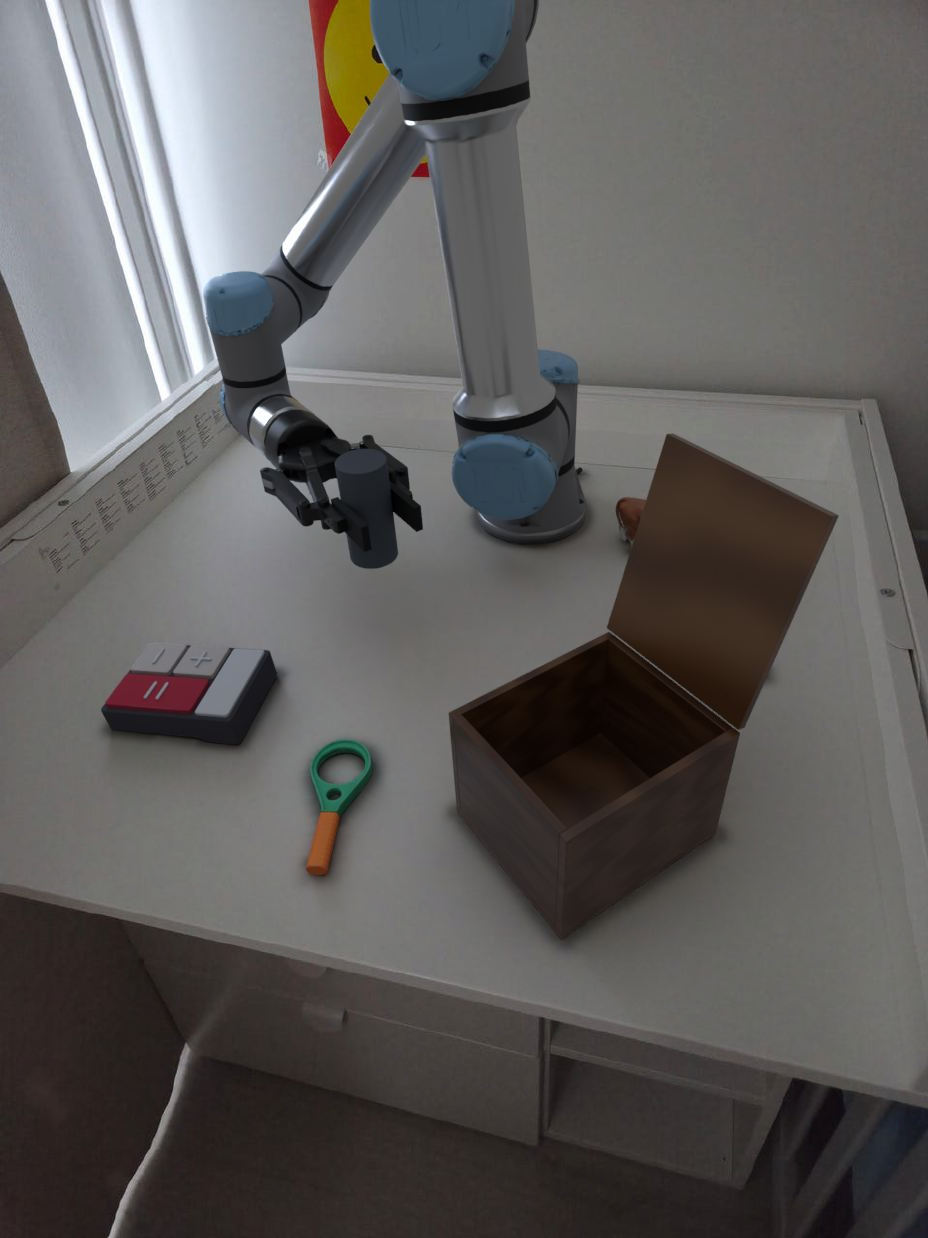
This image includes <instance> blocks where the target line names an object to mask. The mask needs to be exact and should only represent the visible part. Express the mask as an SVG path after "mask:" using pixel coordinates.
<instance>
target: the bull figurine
mask: <svg viewBox="0 0 928 1238" xmlns="http://www.w3.org/2000/svg"><path fill="white" fill-rule="evenodd" d="M645 502H646V499H643V498H638V497H629V496H625V497H621V498H620V499H618V501H617V502H616V505H615V516H616V520H617V523H618V528H619V535H620V538H621V539H622V541H623V542H626V541H628V542H630V546H631V548H632V544H633V541H634V538H635V535H636V531H637V528H638V525H639V522H640V519H641V515H642V512H643V509H644V506H645Z"/></svg>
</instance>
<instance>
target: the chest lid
mask: <svg viewBox="0 0 928 1238" xmlns="http://www.w3.org/2000/svg"><path fill="white" fill-rule="evenodd" d="M645 500H646V502H645V506H644V509H643V512H642V515H641V519H640V522H639V525H638V528H637V531H636V535H635V538H634V541H633V544H632V547H631V548H630V551H629V554H628V557H627V561H626V564H625V568H624V570H623V573H622V577H621V580H620V584H619V586H618V590H617V593H616V596H615V599H614V603H613V606H612V608H611V609H612V610H611V612H610V616H609V619H608V622H607V625H606V629H607V630H608V631H609V632H610V633H612V634H613V635H614V636H616V637H617V638H618V639H620V640H621V641H622V642H623V643H625V644H626V645H627V646H629V647H630V648H631V649H632V650H634V651H635V652H636V653H638V654H639V655H640V656H641V657H643V658H644V659H645V660H647V661H648V662H649V663H650V664H652V665H653V666H654V667H656V668H657V669H658V670H659V671H661V672H662V673H663V674H665V675H666V676H667V677H668V678H670V679H671V680H672V681H674V682H675V683H676V684H677V685H679V686H680V687H681V688H683V689H684V690H685V691H687V692H688V693H689V694H690V695H692V696H693V697H694V698H696V699H697V700H698V701H699V702H701V703H702V704H703V705H705V706H706V707H707V708H708V709H710V710H711V711H712V712H714V713H715V714H716V715H717V716H719V717H720V718H721V719H723V720H724V721H725V722H726V723H728V724H729V725H730V726H732V727H733V728H734V729H736V730H737V731H739V730H742V729H745V728H746V726H747V722H748V721H749V719H750V716H751V714H752V712H753V710H754V707H755V705H756V703H757V701H758V699H759V696H760V694H761V692H762V689H763V687H764V685H765V682H766V680H767V679H768V676H769V674H770V672H771V669H772V668H773V665H774V662H775V660H776V658H777V655H778V654H779V652H780V648H781V646H782V645H783V642H784V640H785V638H786V637H787V636H786V635H787V633H788V631H789V629H790V627H791V624H792V622H793V620H794V618H795V615H796V613H797V611H798V609H799V606H800V604H801V602H802V599H803V597H804V595H805V592H806V591H807V588H808V586H809V584H810V582H811V579H812V578H813V575H814V572H815V571H816V568H817V566H818V564H819V561H820V559H821V557H822V554H823V552H824V550H825V548H826V546H827V544H828V541H829V538H830V537H831V534H832V532H833V530H834V528H835V526H836V524H837V521H838V519H839V516H840V515H839V514H838V513H835V512H833V511H831V510H828V509H827V508H825V507H823V506H821V505H818V504H817V503H815V502H813V501H811V500H808V499H806V498H805V497H802V496H800V495H798V494H797V493H795V492H792V491H791V490H788V489H787V488H785V487H782V486H780V485H778V484H776V483H775V482H773V481H770V480H768V479H766V478H764V477H762V476H760V475H758V474H756V473H754V472H752V471H750V470H749V469H746V468H744V467H742V466H740V465H738V464H736V463H735V462H732V461H730V460H728V459H726V458H723V457H722V456H720V455H718V454H716V453H714V452H712V451H710V450H708V449H706V448H704V447H701V446H700V445H698V444H696V443H693V442H692V441H689V440H688V439H685V438H684V437H682V436H679V435H678V434H676V433H674V432H673V433H666V434H665V438H664V442H663V445H662V448H661V451H660V453H659V457H658V461H657V464H656V467H655V470H654V474H653V476H652V480H651V484H650V487H649V490H648V493H647V497H646V499H645Z"/></svg>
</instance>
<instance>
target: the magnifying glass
mask: <svg viewBox="0 0 928 1238" xmlns="http://www.w3.org/2000/svg"><path fill="white" fill-rule="evenodd" d="M343 753H350V754H355V755H357V756H359V757H361V759H362V760H363V761H364V768H363V770H362V772H361V773H360V774H359V775H358V776H357V777H355V778H354V779H353V780H351V781H348V782H345V783H344V782H343V783H330V782H327V781H325V780H323V779H322V778H321V777H320V776H319V769H320V767H321V765H322V764H323V763H324V762H325V761H326V760H327V759H328V758H330V757H332V756H334V755H337V754H343ZM373 765H374V764H373V759H372V756H371V753H370V751H369V749H368V748H367V747H366V746H365V745H364V744H363V743H362V742H360V741H358V740H355V739H351V738H350V739H349V738H343V739H337V740H333V741H331V742H328V743H327V744H325V745H323V746H322V747H321V748H320V749H318V751H317V752H316V753H314V756H313V758H312V759H311V762H310V764H309V774H310V780H311V781H312V785H313V788H314V791H315V794H316V797H317V800H318V803H319V806H320V814H319V817H318V819H317V824H316V828H315V831H314V835H313V838H312V843H311V847H310V850H309V854H308V858H307V862H306V866H305V870H306V871H305V872H306V873H308V874H309V875H312V876H314V875H315V876H325V875H326V874H327V873H328V871H329V866H330V862H331V858H332V853H333V849H334V845H335V842H336V837H337V832H338V828H339V823H340V818H341V816H342V815H343V813H344V811H345V810H346V809H347V808H348V807H349V806H350V804H351V803H352V802H353V801H354V799H355V798H356V797H357V796H358V795H359V794H360V793H361V791H362V790H363V789H364V788H365V786H366V785H367V784H368V783H369V781H370V779H371V777H372V775H373V771H374V770H373V769H374V767H373ZM336 794H338V795H340V797H338V798H337V799H333V800H332V799H329V798H330V797H331V796H332V795H336Z"/></svg>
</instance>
